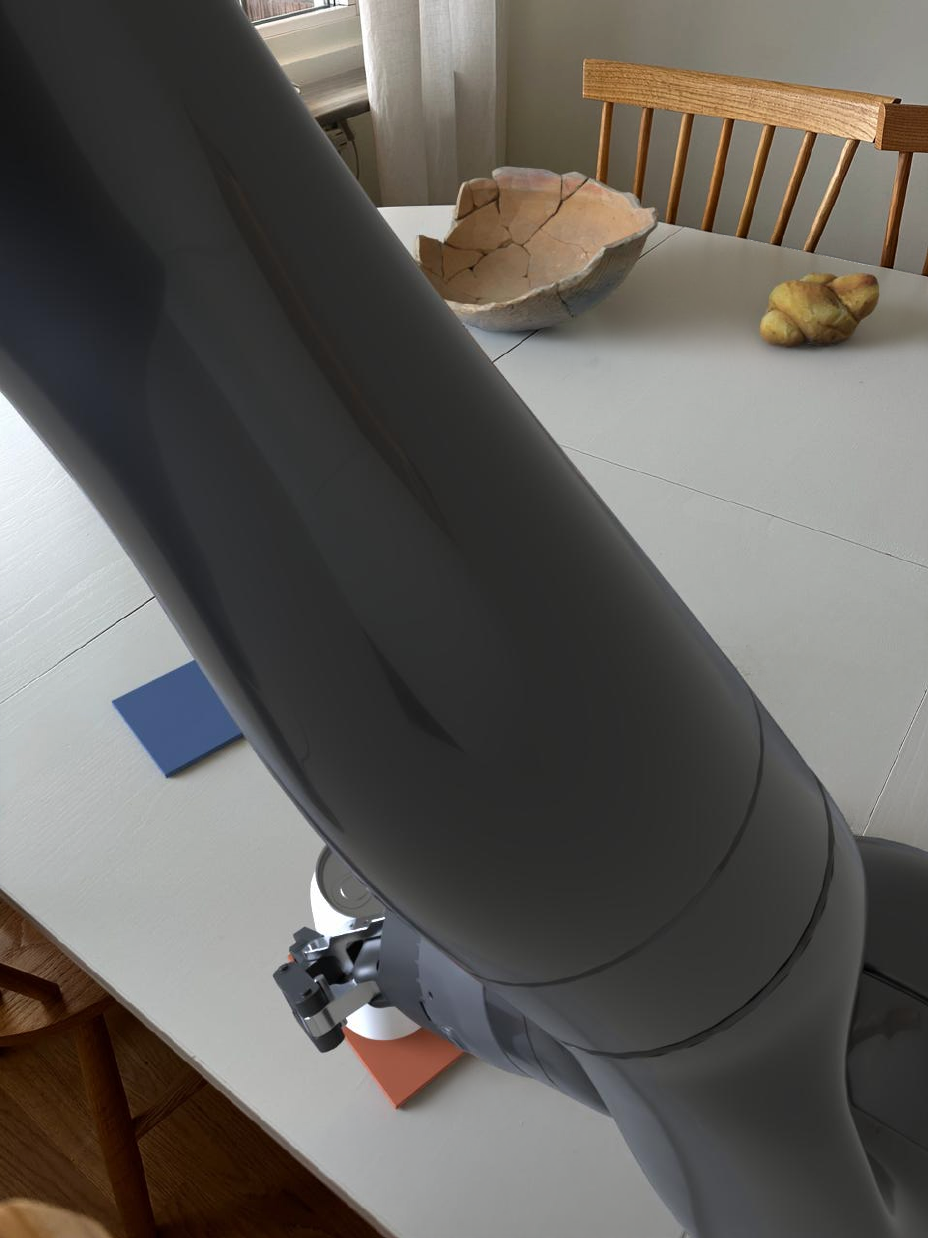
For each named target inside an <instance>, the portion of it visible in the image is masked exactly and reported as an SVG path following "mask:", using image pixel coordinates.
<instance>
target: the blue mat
mask: <svg viewBox="0 0 928 1238" xmlns="http://www.w3.org/2000/svg"><path fill="white" fill-rule="evenodd" d="M111 704H112V706H113V708H114V709H115V710H116V711H117V713H118V714H119V716H120V717H121V719H122V720H123V721H124V722H125V724H126V725H127V726H128V728H129V729H130V731H131V732H132V734H133V735H134V736H135V738H136V739H137V740H138V742H139V743H140V744H141V745H142V747H143V748H144V750H145V751H146V753H147V754H148V756H150V758H151V759H152V761H153V762H154V764H155V765H156V766H157V768H158V769H159V771H161V773H162V774H163V776H164V777H165V779H168V778H170V777H171V776H173V775H175V774H178V773H179V772H180V771H182V770H184V769H186V768H188V767H190V766H191V765H193V764H195V763H197V762H199V761H200V760H202V759H204V758H206V757H208V756H209V755H212V754H213V753H215V752H217V751H218V750H221V749H222V748H224V747H226V746H227V745H230V744H231V743H233V742H235V741H236V740H239V739H241V738H242V737H244V735H243V734H242V732H241V731H240V729H239V728H238V726H237V725H236V723H235V722H234V720H233V718H232V717H231V715H230V714H229V712H228V711H227V709H226V708H225V706H224V704H223V703H222V701H221V700H220V698H219V697H218V695H217V694H216V692H215V690H214V689H213V687H212V686H211V684H210V683H209V681H208V680H207V678H206V677H205V675H204V673H203V672H202V670H201V669H200V667H199V666H198V664H197V663H196V661H195V659H193V660H191V661H189V662H187V663H185V664H183V665H180V666H179V667H176V668H175V669H173V670H171V671H168V672H167V673H165V674H163V675H160V676H159V677H157V678H155V679H153V680H151V681H149V682H147V683H145V684H143V685H140V686H139V687H137V688H134V689H133V690H130V691H128V692H127V693H125V694H123V695H120V696H118V697H117V698H115V699H113V700H111Z"/></svg>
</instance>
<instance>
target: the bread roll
mask: <svg viewBox="0 0 928 1238" xmlns="http://www.w3.org/2000/svg"><path fill="white" fill-rule="evenodd" d="M879 298H880V285H879V282H878V278H877V277H876V276H875V275H874V274H870V273H863V272H860V273H859V272H858V273H850V274H845V275H841V276H839V277H838V276H836V275H835V274H832V273H829V272H828V273H819V272H817V273H815V272H813V271H812V272H810V273H808V274H807V275H806V276H804V277H803V278H801V279H799V280H798V279H789V280H786V281H784V282H782V283H780V284H777V285H776V286H775V287H774V288H773V289H772V290H771V292H770V294H769V296H768V306H767V308H766V309H765V314H764V316H763V317H761V322H760V325H759V328H758V329H759V333H760V337H761V338H762V339H763V341H764V342H766V343H767V344H769V345H772V346H775V347H779V348H786V349H789V348H790V349H791V348H796V347H800V346H802V345H805V344H808V345H811V346H833V345H834V346H835V345H837V344H839V343H842V342H845V341H847V340H848V339H850V338H851V337H852V336H853V335H854V333H855V331H856V329H857V327H858V326H859V325H860V324H861V322H862V320H864V319H866V318H867V317H869V316H871V314H872V313H873V312H874V310H875V309H876V307H877V305H878V302H879Z"/></svg>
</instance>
